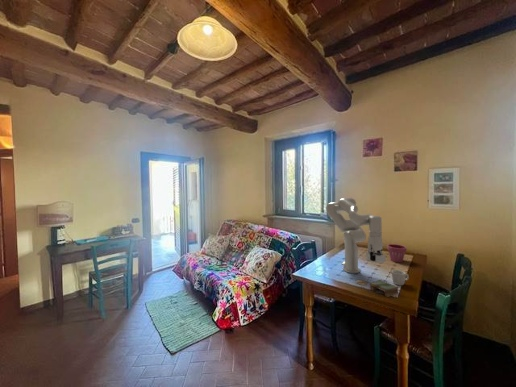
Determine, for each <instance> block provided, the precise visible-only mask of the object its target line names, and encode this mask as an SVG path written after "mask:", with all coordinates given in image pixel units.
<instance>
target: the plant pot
mask: <svg viewBox="0 0 516 387" xmlns="http://www.w3.org/2000/svg"><path fill="white" fill-rule="evenodd" d="M386 250H387V251H388V254H389V258H390V261H392V262H396V263H403V261H404V259H405V255H406V254H405V253H407V246H405V245H402V244H396V243H393V244H391V243H390V244H387V248H386Z"/></svg>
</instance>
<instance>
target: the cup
mask: <svg viewBox="0 0 516 387" xmlns="http://www.w3.org/2000/svg"><path fill="white" fill-rule="evenodd" d="M391 277H392V284H393V285H394V284H395V285H396V286H397V285H398V286H404V285H405V282H406V281H409V274H408V273H406V272H405V271H403V270H398V269H393V270H391Z"/></svg>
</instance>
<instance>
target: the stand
mask: <svg viewBox="0 0 516 387" xmlns="http://www.w3.org/2000/svg"><path fill="white" fill-rule="evenodd" d="M369 288H370V289H369V290H370V291H376V290H381V291H383V292H384V296H385V297H387V298H390V297H392V296H394V295H396V294H399V292H398V291H399V287H398V286H397V285H394V284H393V283H389V282H387V281H383V280H381V279H378V280H376V281H373V282H371V283H369Z"/></svg>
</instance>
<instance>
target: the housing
mask: <svg viewBox="0 0 516 387" xmlns="http://www.w3.org/2000/svg"><path fill="white" fill-rule="evenodd" d="M372 253H373V251H372ZM365 254H366V256H365V257H366V261H371V260H370V254H369V252H368V251H367V252H366V253H365ZM374 255H375V261H371V262H373V263H377V264H382V263H386V254H384V253H377V251H375V254H374Z"/></svg>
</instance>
